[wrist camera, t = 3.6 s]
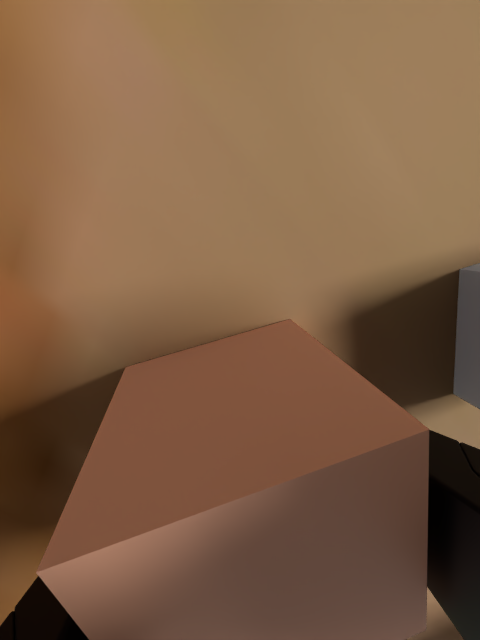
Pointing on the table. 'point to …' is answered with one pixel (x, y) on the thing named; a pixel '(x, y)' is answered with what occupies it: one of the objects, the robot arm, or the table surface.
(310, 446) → the terracotta cube
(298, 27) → the table surface
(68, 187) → the table surface
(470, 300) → the slate cube
